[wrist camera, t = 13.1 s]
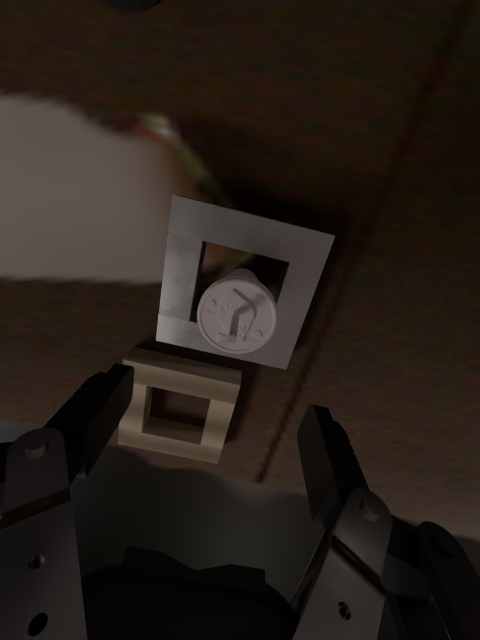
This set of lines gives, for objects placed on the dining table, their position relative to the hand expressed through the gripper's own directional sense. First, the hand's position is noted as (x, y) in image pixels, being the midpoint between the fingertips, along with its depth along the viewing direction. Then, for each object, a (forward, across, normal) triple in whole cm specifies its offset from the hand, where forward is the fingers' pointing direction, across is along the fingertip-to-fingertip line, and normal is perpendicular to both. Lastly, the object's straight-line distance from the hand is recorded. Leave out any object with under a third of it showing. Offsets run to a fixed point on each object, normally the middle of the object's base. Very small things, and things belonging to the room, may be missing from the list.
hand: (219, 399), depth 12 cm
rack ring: (+19, 0, 0) cm, 19 cm away
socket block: (+18, +4, +18) cm, 26 cm away
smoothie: (+19, 0, 0) cm, 19 cm away
